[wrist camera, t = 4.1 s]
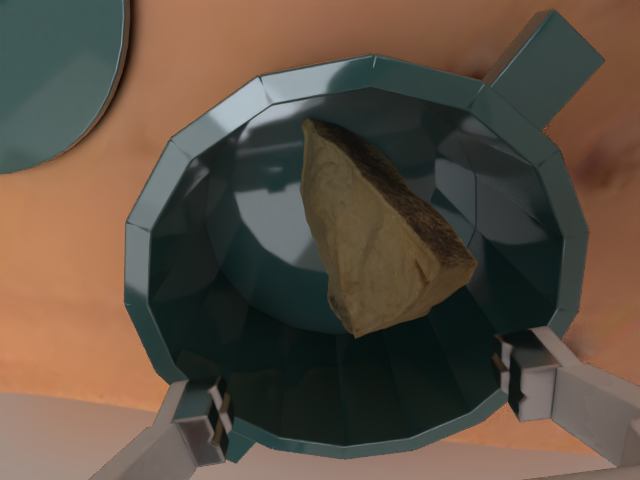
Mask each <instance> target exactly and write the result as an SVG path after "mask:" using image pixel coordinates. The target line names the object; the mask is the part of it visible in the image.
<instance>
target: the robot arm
mask: <svg viewBox="0 0 640 480" xmlns="http://www.w3.org/2000/svg"><path fill="white" fill-rule="evenodd" d="M492 347H493V348H494V350H495V351H496V353H495V354H494V355H493V356H492V370H493V374H494V377H495V380H496V382H497V384H498V386H499V388H500V390H502V391H503V392H505V393H507V394H508V403H509V405H510V407H511V408H512V410H513V412H514V413H515V415H516V417H517V418H518V420H519V422H525V421H534V420H543V419H552V421H554V422H555V423H556V424H558V425H559V426H561V427H562V428H563V429H565V430H566V431H568V432H569V433H570V434H572V435H573V436H575V437H576V438H577V439H579V440H580V441H582V442H583V443H584V444H586V445H587V446H589V447H590V448H592V449H593V450H594V451H596V452H597V453H599V454H600V455H601V456H603V457H604V458H606V459H607V460H608V461H610V462H611V463H613V464H614V465H615V466H617V467H618V468H610V469H602V470H595V471H587V472H579V473H571V474H564V475H556V476H548V477H541V478H533V479H525V480H640V386H639V385H637V384H634V383H632V382H630V381H627V380H625V379H623V378H621V377H618V376H616V375H614V374H612V373H609V372H607V371H605V370H602V369H600V368H598V367H596V366H593V365H591V364H589V363H588V364H583V363H582V362H581V361H580V360H579V359H578V358H577V357H576V356H575V355H574V354H573V353H572V351H571V350H570V349H569V348H568V347H567V346H566V345H565V344H564V343H563V342H562V341H561V340H560V339H559V337H558V336H557V335H556V334H555V333H554V332H553V331H552V330H551V329H550V328H549V327H547V326H542V327H537V328H531V329H528V330H520V331H514V332H507V333H501V334H495V335H493V337H492ZM226 387H227V384H226V381H225V379H224V377H223V376H213V377H205V378H197V379H190V380H184V381H176V382H173V383H172V384H171V385H170V387H169V389H168V391H167V394H166V396H165V398H164V400H163V403H162V405H161V407H160V409H159V412H158V414H157V416H156V418H155V421H154V423H153V425H152V426H151V427H147V428H146V429H145V430H143V431H142V432H141V433H140V434H139V435H138V436H137V437H136V438H135V439H133V440H132V441H131V442H130V443H129V444H128V445H127V446H126V447H125V448H123V449H122V450H121V451H120V452H119V453H118V454H117V455H115V456H114V457H113V458H112V459H111V460H110V461H109V462H108V463H107V464H105V465H104V466H103V467H102V468H101V469H100V470H99V471H98V472H97V473H95V474H94V475H93V476H92V477H91V478H90V479H89V480H189V479H190V477H191V476H192V475H193V473H194V472H195V471H196V468H197V467H202V466H209V465H214V464H220V463H225V461H226V456H227V452H228V447H229V442H230V441H229V439H228V436H227V434H228V433H229V432H230V431H231V430H232V428H233V423H234V405H233V400H232V397H231V395H229V394H228V393H226V392H225V391H226Z"/></svg>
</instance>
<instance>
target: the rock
mask: <svg viewBox="0 0 640 480" xmlns="http://www.w3.org/2000/svg"><path fill="white" fill-rule="evenodd" d="M302 131H303V134H304V139H305V143H304V154H303V168H302V173H301V180H302V187H301V188H300V194H301V197H302V202H303V205H304V210H305V217H306V221H307V224H308V225H309V227H310V231H311V234H312V237H313V238H314V239H315V240H316V243H317V246H318V249H319V253H318V255H319V257H320V260H321V262H322V264H323V266H324V268H325V270H326V272H327V274H328V276H329V281H328V292H327V299H328V303H329V304H330V308H331V309H332V310H333V311H334V313H335V314H336V316H337V318H339V319H340V320H341V321H342V324H343V326H344V327H345V329H346V330H347V331H348V332H349V333H351V334H354V337H355V339H356V338H358V337H361V336H363V335H365V334H367V333H370V332H374V331H378V330H380V329H385V328H388V327H390V326H392V325H396V324H398V323H401V322H405V321H409V320H413V319H416V318H419V317H423V316H425V315H427V314H428V312H429V311H430V309H431V307H432V306H434V305H436V304H439V303H441V302H442V301H444V300H445V299H446V298H448V297H449V296H450V295H451V294H453V293H454V292H455V291H456V290H458V289H459V288H461V287H462V286H464V285H466V284H467V283H468V282H469V280H470V278H471V277H472V275H473V273H474V270H475V268H476V267H477V263H478V262H477V260H476V259H475V258H474V256H473V255H472V254H471V252H470V251H469V250H468V249H467V248H466V246H465V245H464V243H463V241H462V240H461V239H460V237H459V236H458V235H457V233H456V232H455V230H454V229H453V227H452V226H451V225H450V224H449V223H448V221H447V220H446V219H445V218H444V217H443V216H442V215H441V214H440V213H439V212H438V211H437V210H436V209H435V208H434V207H432V206H431V205H430V204H428V203H427V202H425V201H423V200H421V199H420V198H419V197H418V196H416V195H415V194H413V193H412V192H411V191H410V190H409V189H408V187H407V185H406V183H405V181H404V180H403V178H402V176H401V175H400V174H399V173H398V171H397V169H396V168H395V166H394V165H393V163H392V162H391V161H390V160H389V159H387V158H386V156H385V155H384V154H383V153H382V152H381V151H380V150H379V149H378V148H376V147H375V146H373V145H372V144H370V143H369V142H367V141H365V140H364V139H362V138H361V137H359V136H358V135H356V134H354V133H352V132H351V131H349V130H348V129H346V128H344V127H342V126H339V125H336V124H333V123H329V122H322V121H317V120H314V119H312V118H307V119H306V120H305V121H303V123H302Z"/></svg>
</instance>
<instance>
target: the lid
mask: <svg viewBox="0 0 640 480" xmlns="http://www.w3.org/2000/svg"><path fill="white" fill-rule="evenodd" d="M129 27H130V0H0V174H9V173H13V172H17V171H21V170H25V169H29V168H32V167H35V166H38V165H40V164H42V163H45V162H47V161H49V160H52V159H54V158H56V157H58V156H59V155H61V154H62V153H64V152H66V151H67V150H69V149H70V148H72V147H73V146H75V145H76V144H77V143H78V142H79V141H80V140H81V139H82V138H83V137H85V136H86V135H87V134H88V133H89V132H90V131H91V129H92V128H93V127H94V126H95V124H96V123H97V122H98V121H99V119H100V118H101V117H102V116H103V114H104V112H105V110H106V109H107V107H108V105H109V103H110V101H111V99H112V98H113V96H114V94H115V91H116V88H117V85H118V83H119V80H120V77H121V75H122V72H123V67H124V62H125V58H126V53H127V48H128V39H129Z"/></svg>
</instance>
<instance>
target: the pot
mask: <svg viewBox="0 0 640 480" xmlns="http://www.w3.org/2000/svg"><path fill="white" fill-rule="evenodd" d="M604 61H605V59H604V58H603V57H602V56H601V55H600V54H599V53H598V52H597V51H596V50H595V49H594V48H593V47H592V46H591V45H590V44H589V43H588V42H587V41H586V40H585V39H584V38H583V37H582V36H581V35H580V34H579V33H578V32H577V31H576V30H575V29H574V28H573V27H572V26H571V25H570V24H569V23H568V22H567V21H566V20H565V19H564V18H563V17H562V16H561V15H560V14H559V13H558V12H557V11H556V10H555V9H549V10H545V11H540V12H537V13H536V14H535V15H534V16H533V17H532V19H531V20H530V21H529V22H528V24H527V25H526V26H525V27H524V29H523V30H522V31H521V32H520V33H519V35H518V36H517V37H516V38H515V40H514V41H513V42H512V43H511V45H510V46H509V47H508V48H507V49H506V51H505V52H504V53H503V54H502V56H501V57H500V58H499V59H498V61H497V62H496V63H495V64H494V65H493V67H492V68H491V69H490V70H489V72H488V73H487V74H486V75H485V77H484V78H483V79H482V80H478V79H474V78H471V77H467V76H463V75H459V74H455V73H451V72H447V71H443V70H439V69H435V68H431V67H427V66H424V65H420V64H416V63H412V62H408V61H404V60H400V59H396V58H392V57H388V56H384V55H380V54H371V53H370V54H363V55H357V56H350V57H344V58H339V59H334V60H328V61H323V62H318V63H313V64H307V65H302V66H297V67H292V68H286V69H281V70H277V71H273V72H268V73H264V74H261V75H258V76H256V77H254V78H253V79H252V80H250V81H249V82H247V83H246V84H245V85H243V86H242V87H241V88H239V89H238V90H236V91H235V92H234V93H232V94H231V95H229V96H228V97H227V98H225V99H224V100H222V101H221V102H220V103H218V104H217V105H215V106H214V107H213V108H211V109H210V110H208V111H207V112H206V113H204V114H203V115H201V116H200V117H199V118H197V119H196V120H194V121H193V122H192V123H190V124H189V125H187V126H186V127H185V128H183V129H182V130H180V131H179V132H178V133H176V134H175V135H173V136H172V137H171V138H170V140H169V141H168V143H167V145H166V146H165V148H164V150H163V152H162V154H161V156H160V158H159V160H158V161H157V163H156V165H155V167H154V169H153V171H152V173H151V174H150V176H149V178H148V180H147V182H146V184H145V186H144V188H143V189H142V191H141V193H140V195H139V197H138V199H137V201H136V202H135V204H134V206H133V208H132V210H131V212H130V214H129V216H128V217H127V220H126V223H125V270H124V303H125V307H126V309H127V311H128V313H129V316H130V318H131V320H132V322H133V324H134V326H135V329H136V331H137V333H138V335H139V337H140V339H141V342H142V344H143V346H144V348H145V350H146V352H147V355H148V357H149V359H150V361H151V363H152V365H153V368H154V370H155V371H156V373H157V374H158V375H159V376H160V377H161V378H162V379H164V380H165V381H166V382H167V383H168V384H169V385H171V384H172V383H173V382H176V381H184V380H190V379H197V378H205V377H213V376H223V377H224V379H225V381H226V384H227V387H226V391H225V392H226V393H228V394H229V395H231V397H232V400H233V405H234V423H233V428H232V430H231V431H230V432H229V433H228V434H227V436H228V439H229V441H230V442H229V447H228V452H227V456H226V459H227V460H229V461H231V462H233V463H238V461H239V460H240V459H241V458H242V457H243V456H244V455H245V454H246V453H247V452H248V451H249V449H250V448H251V447H252V446H253V445H254V444H255V443H256V442H257V443H259V444H261V445H264V446H266V447H268V448H270V449H274V450H279V451H287V452H294V453H301V454H308V455H316V456H322V457H330V458H337V459H352V458H360V457H368V456H376V455H384V454H391V453H399V452H406V451H413V450H417V449H419V448H422V447H424V446H426V445H429V444H431V443H434V442H436V441H439V440H441V439H443V438H446V437H448V436H451V435H453V434H455V433H458V432H460V431H463V430H465V429H467V428H470V427H472V426H475V425H477V424H479V423H481V422H483V421H485V420H486V419H487V418H488V417H489V416H491V415H492V414H493V413H494V412H496V411H497V410H498V409H499V408H500V407H502V406H503V405H504V404H505V403H507V402H508V394H507V393H505V392H503V391H502V390H500V388H499V386H498V384H497V382H496V380H495V377H494V374H493V370H492V356H493V355H494V354H495V353H496V351H495V350H494V348H493V347H492V337H493V335H495V334H501V333H507V332H514V331H520V330H528V329H531V328H537V327H542V326H547V327H549V328H550V329H551V330H552V331H553V332H554V333H555V334H556V335H557V336H558V337H559V339H560V340H562V338H563V336H564V335H565V333H566V331H567V330H568V328H569V326H570V325H571V323H572V321H573V320H574V318H575V316H576V315H577V313H578V312H579V310H578V309H579V307H580V299H581V292H582V284H583V277H584V269H585V262H586V254H587V247H588V239H589V231H588V230H589V228H588V225H587V222H586V219H585V217H584V214H583V211H582V208H581V206H580V203H579V200H578V197H577V195H576V192H575V189H574V186H573V184H572V181H571V178H570V175H569V173H568V170H567V167H566V164H565V162H564V159H563V156H562V153H561V151H560V149H559V147H558V145H556V144H555V143H554V142H553V141H552V140H551V139H550V138H548V137H547V136H546V135H545V134H544V133H543V132H542V129H543V128H544V127H545V126H546V125H547V124H548V123H549V122H550V121H551V120H552V119H553V117H554V116H555V115H556V114H557V113H558V112H559V111H560V110H561V109H562V108H563V107H564V105H565V104H566V103H567V102H568V101H569V100H570V99H571V98H572V97H573V96H574V95H575V93H576V92H577V91H578V90H579V89H580V88H581V87H582V86H583V85H584V84H585V83H586V81H587V80H588V79H589V78H590V77H591V76H592V75H593V74H594V73H595V72H596V71H597V69H598V68H599V67H600V66H601V65H602V64H603V63H604ZM307 118H312V119H314V120H317V121H322V122H329V123H333V124H336V125H339V126H342V127H344V128H346V129H348V130H349V131H351V132H352V133H354V134H356V135H358V136H359V137H361V138H362V139H364V140H365V141H367V142H369V143H370V144H372V145H373V146H375V147H376V148H378V149H379V150H380V151H381V152H382V153H383V154H384V155H385V156H386V158H387V159H389V160H390V161H391V162H392V163H393V165H394V166H395V168H396V169H397V171H398V173H399V174H400V175H401V176H402V178H403V180H404V181H405V183H406V185H407V187H408V189H409V190H410V191H411V192H412V193H413V194H415V195H416V196H418V197H419V198H420V199H421V200H423V201H425V202H427V203H428V204H430V205H431V206H432V207H434V208H435V209H436V210H437V211H438V212H439V213H440V214H441V215H442V216H443V217H444V218H445V219H446V220H447V221H448V223H449V224H450V225H451V226H452V227H453V229H454V230H455V232H456V233H457V235H458V236H459V237H460V239H461V240H462V241H463V243H464V245H465V246H466V248H467V249H468V250H469V251H470V252H471V254H472V255H473V256H474V258H475V259H476V260H477V262H478V263H477V267H476V268H475V270H474V273H473V275H472V277H471V278H470V280H469V282H468V283H467V284H466V285H464V286H462V287H461V288H459V289H458V290H456V291H455V292H454V293H453V294H451V295H450V296H449V297H448V298H446V299H445V300H444V301H442V302H441V303H439V304H436V305H434V306H432V307H431V309H430V311H429V312H428V314H427V315H425V316H423V317H419V318H416V319H413V320H409V321H405V322H401V323H398V324H396V325H392V326H390V327H388V328H385V329H380V330H378V331H374V332H370V333H367V334H365V335H363V336H361V337H358V338H356V339H355V337H354V334H351V333H349V332H348V331H347V330H346V329H345V327H344V326H343V324H342V321H341V320H340V319H339V318H337V316H336V314H335V313H334V311H333V310H332V309H331V308H330V304H329V303H328V299H327V292H328V281H329V276H328V274H327V272H326V270H325V268H324V266H323V264H322V262H321V260H320V257H319V255H318V253H319V249H318V246H317V243H316V240H315V239H314V238H313V237H312V234H311V231H310V227H309V225H308V224H307V221H306V217H305V210H304V205H303V202H302V197H301V194H300V188H301V187H302V180H301V173H302V168H303V154H304V143H305V139H304V134H303V131H302V123H303V121H305V120H306V119H307Z"/></svg>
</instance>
